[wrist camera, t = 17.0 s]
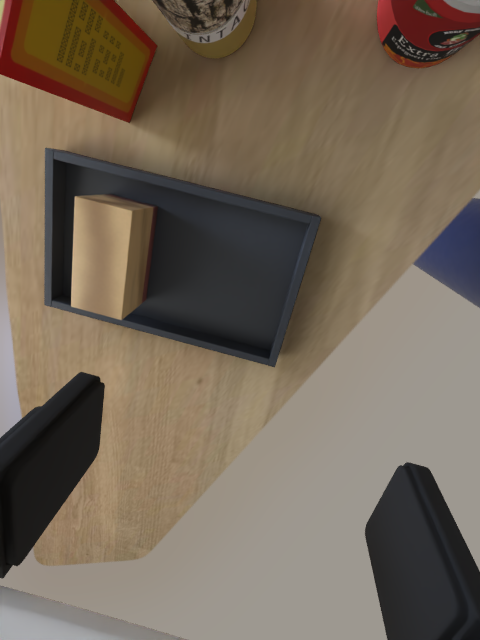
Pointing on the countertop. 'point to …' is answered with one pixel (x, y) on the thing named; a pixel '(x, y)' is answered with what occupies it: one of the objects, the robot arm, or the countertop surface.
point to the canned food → (426, 29)
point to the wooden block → (111, 254)
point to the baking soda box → (76, 51)
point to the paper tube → (210, 23)
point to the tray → (189, 256)
